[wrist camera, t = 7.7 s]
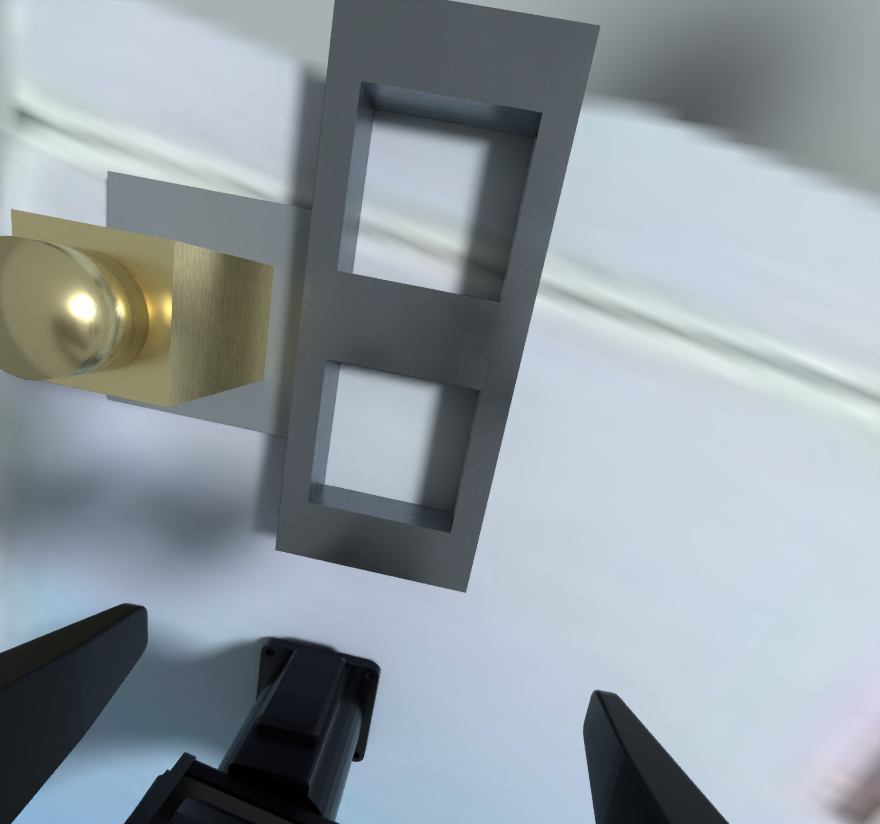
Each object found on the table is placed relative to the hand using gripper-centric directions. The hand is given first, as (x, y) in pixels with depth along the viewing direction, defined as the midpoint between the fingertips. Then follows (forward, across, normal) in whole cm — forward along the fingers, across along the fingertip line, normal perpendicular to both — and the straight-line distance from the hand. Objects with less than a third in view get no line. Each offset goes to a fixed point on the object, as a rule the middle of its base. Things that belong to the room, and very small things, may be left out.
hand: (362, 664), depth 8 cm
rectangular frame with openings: (+12, +1, -6) cm, 13 cm away
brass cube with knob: (+11, +10, -6) cm, 16 cm away
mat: (+12, +10, -6) cm, 17 cm away
